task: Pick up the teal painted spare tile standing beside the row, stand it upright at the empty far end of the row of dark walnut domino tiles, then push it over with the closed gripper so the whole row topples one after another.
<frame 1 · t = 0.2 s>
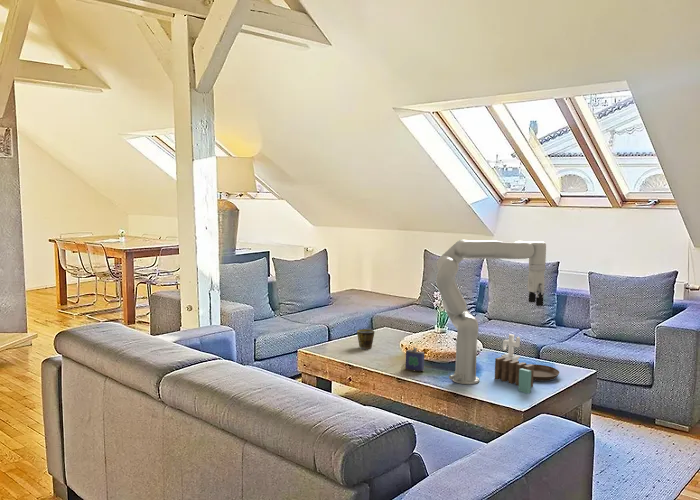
hand: (535, 303, 297), 37 cm above the table, tool pointing down, fingers open, 9 cm apart
spare tile: (524, 391, 283), on the table
ceramic cup: (364, 349, 357), on the table
domino 4: (506, 380, 300), on the table
domino 2: (520, 384, 294), on the table
domino 5: (499, 378, 303), on the table
flask: (414, 370, 315), on the table
plant saucer: (536, 377, 308), on the table
figurine: (510, 362, 332), on the table
domino 3: (513, 382, 297), on the table
domino 1: (527, 386, 291), on the table
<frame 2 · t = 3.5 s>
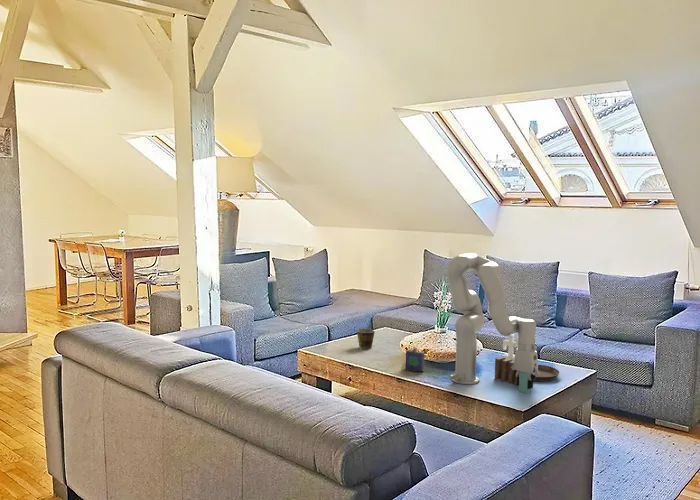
hand: (524, 386, 283), 2 cm above the table, tool pointing down, fingers closed on spare tile, 4 cm apart
spare tile: (524, 391, 283), on the table, touching gripper
everything else where it was.
when the fingers open (3 cm above the table, at t = 8.6 s): spare tile stays where it is, on the table.
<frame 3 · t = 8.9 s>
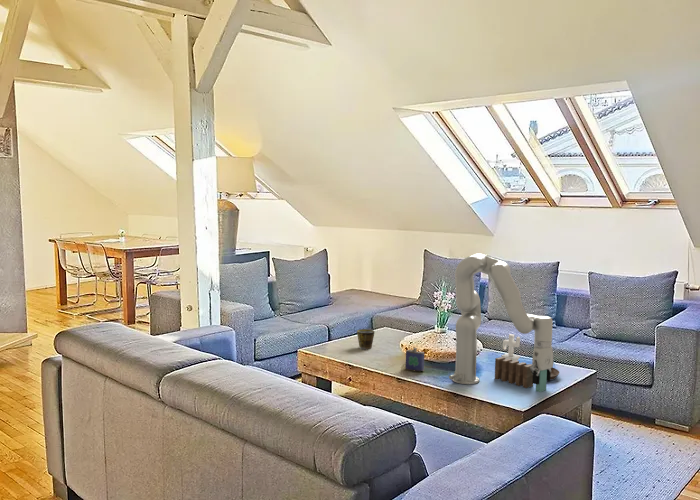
hand: (541, 381, 285), 4 cm above the table, tool pointing down, fingers open, 8 cm apart
spare tile: (541, 390, 285), on the table
everything else where it was.
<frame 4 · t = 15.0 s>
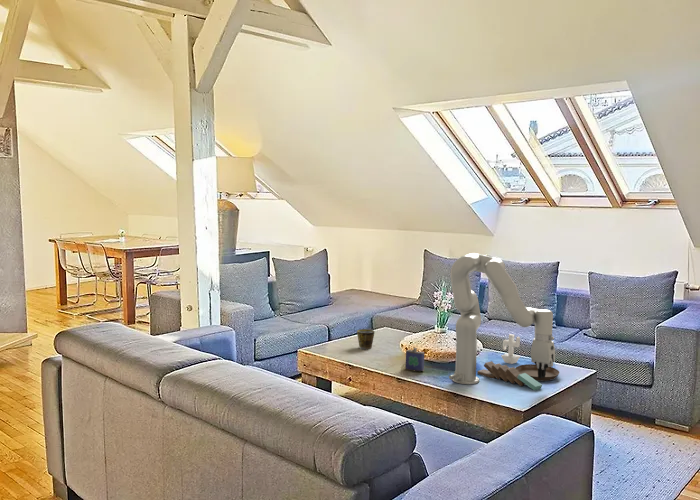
hand: (541, 377, 285), 6 cm above the table, tool pointing down, fingers closed
spare tile: (538, 387, 286), point 1 cm above the table, tilted 70°, touching domino 1
domino 4: (502, 377, 302), point 1 cm above the table, tilted 62°, touching domino 5
domino 2: (516, 381, 295), point 1 cm above the table, tilted 61°, touching domino 1, domino 3
domino 5: (497, 376, 304), on the table, tilted 90°, touching domino 4
domino 3: (509, 379, 298), point 1 cm above the table, tilted 62°, touching domino 2
domino 1: (524, 383, 292), point 1 cm above the table, tilted 61°, touching domino 2, spare tile
everything else where it was.
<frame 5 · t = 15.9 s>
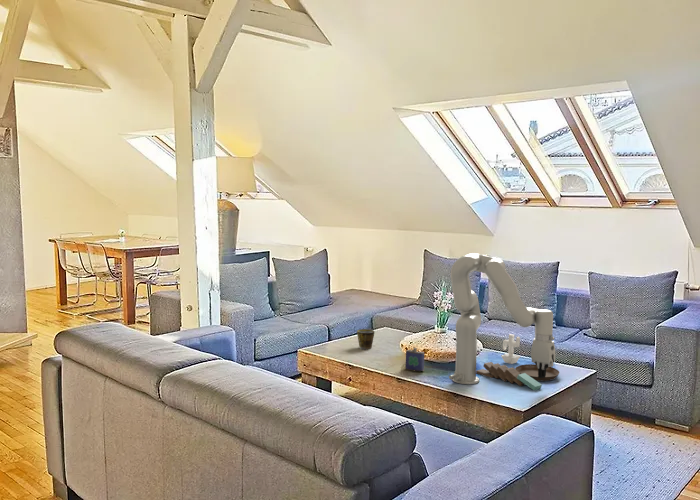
hand: (541, 377, 284), 6 cm above the table, tool pointing down, fingers closed
domino 4: (501, 376, 303), point 1 cm above the table, tilted 67°, touching domino 5
domino 5: (495, 376, 305), on the table, tilted 90°, touching domino 4
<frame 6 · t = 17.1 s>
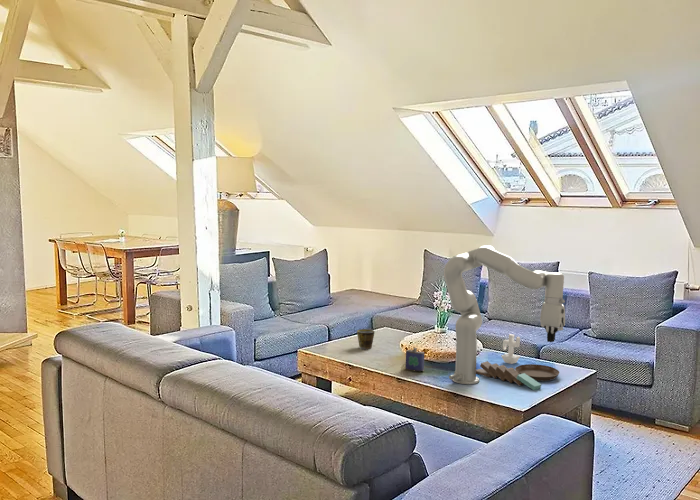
hand: (550, 341, 280), 23 cm above the table, tool pointing down, fingers closed
domino 4: (499, 376, 303), point 1 cm above the table, tilted 66°
domino 5: (493, 376, 306), on the table, tilted 90°
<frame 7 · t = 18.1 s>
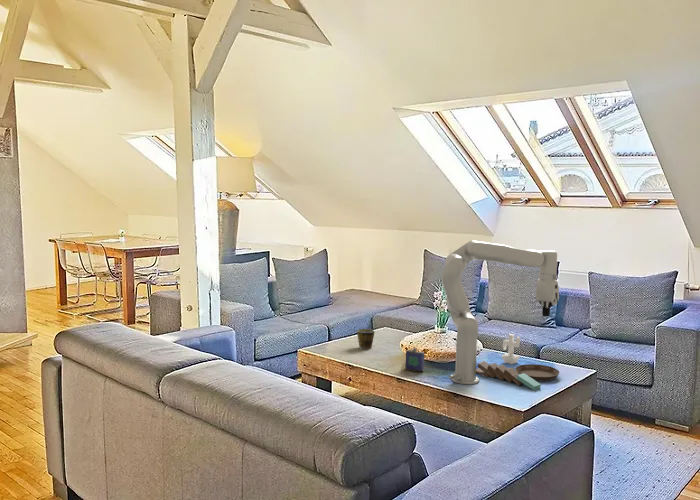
hand: (545, 315, 296), 32 cm above the table, tool pointing down, fingers closed
domino 4: (497, 375, 304), point 1 cm above the table, tilted 67°, touching domino 3, domino 5
domino 2: (514, 380, 297), point 1 cm above the table, tilted 65°, touching domino 3
domino 5: (491, 375, 306), on the table, tilted 90°, touching domino 4
domino 3: (506, 378, 300), point 1 cm above the table, tilted 65°, touching domino 2, domino 4
domino 1: (523, 383, 293), point 1 cm above the table, tilted 66°, touching spare tile
everything else where it was.
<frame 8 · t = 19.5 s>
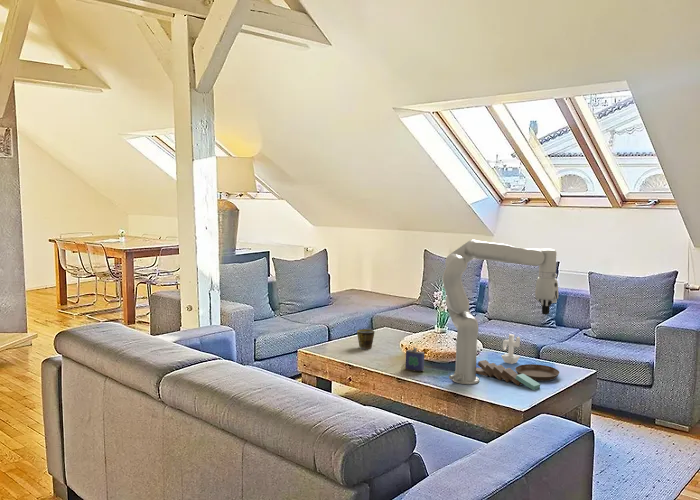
hand: (545, 313, 298), 32 cm above the table, tool pointing down, fingers closed
domino 4: (495, 374, 305), point 1 cm above the table, tilted 67°, touching domino 3
domino 2: (511, 380, 297), point 1 cm above the table, tilted 66°, touching domino 1, domino 3
domino 5: (489, 374, 307), on the table, tilted 90°
domino 3: (504, 377, 301), point 1 cm above the table, tilted 66°, touching domino 2, domino 4
domino 1: (522, 382, 293), point 1 cm above the table, tilted 67°, touching domino 2, spare tile
everything else where it was.
at the end: domino 5 tilted 90°; spare tile tilted 73°; the gripper is holding nothing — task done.
